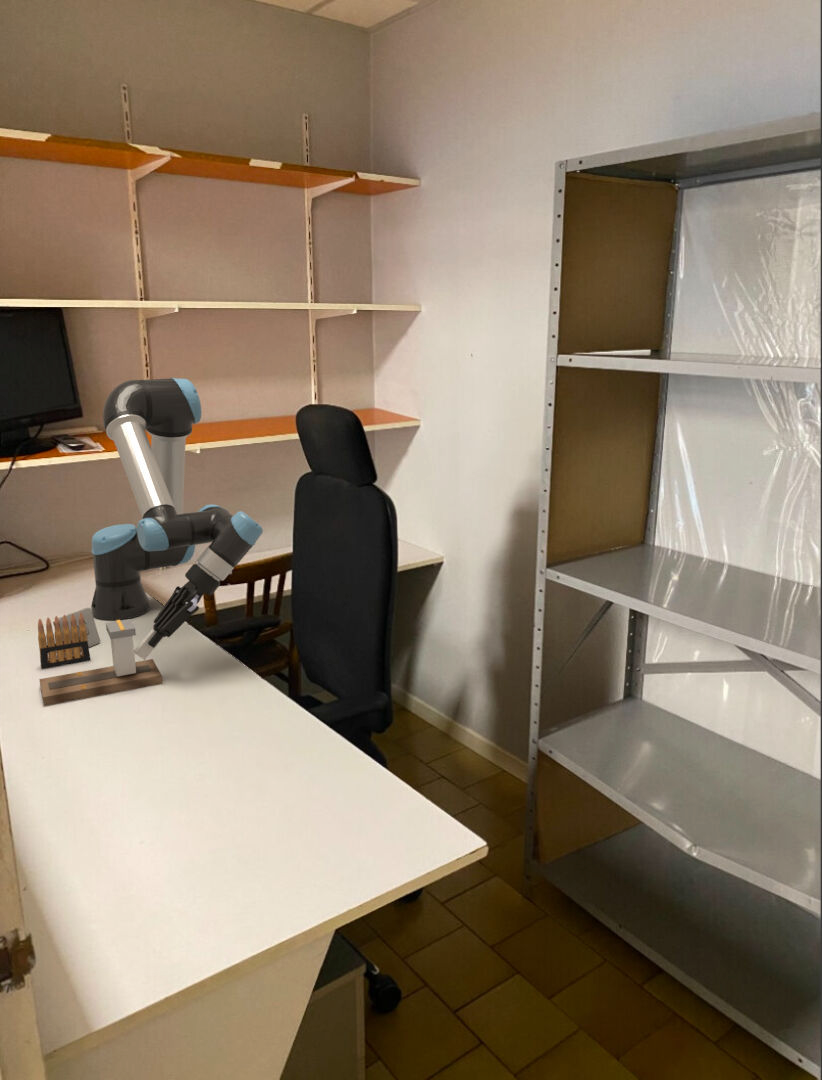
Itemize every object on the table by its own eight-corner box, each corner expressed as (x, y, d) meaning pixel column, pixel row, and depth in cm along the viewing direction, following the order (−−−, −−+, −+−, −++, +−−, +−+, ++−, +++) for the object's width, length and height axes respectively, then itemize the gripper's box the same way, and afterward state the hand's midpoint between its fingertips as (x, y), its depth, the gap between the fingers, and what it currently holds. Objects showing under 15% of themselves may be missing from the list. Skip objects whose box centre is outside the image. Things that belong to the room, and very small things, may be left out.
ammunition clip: (41, 669, 189) (35, 620, 186) (40, 666, 191) (34, 618, 188) (90, 660, 194) (85, 612, 191) (89, 658, 196) (84, 610, 193)
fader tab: (134, 663, 186) (130, 618, 184) (139, 673, 181) (135, 627, 178) (110, 667, 184) (105, 621, 181) (114, 678, 178) (109, 631, 176)
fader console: (153, 666, 190) (152, 658, 190) (162, 683, 182) (161, 674, 181) (40, 687, 180) (39, 678, 179) (44, 706, 171) (42, 696, 171)
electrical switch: (70, 656, 196) (63, 619, 195) (55, 654, 199) (49, 617, 197) (101, 643, 204) (95, 607, 202) (87, 641, 207) (81, 606, 205)
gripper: (229, 589, 182) (158, 675, 179) (213, 574, 193) (146, 653, 190) (203, 570, 178) (130, 657, 175) (188, 555, 189) (120, 636, 186)
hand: (139, 655), depth 182 cm, fingers closed
